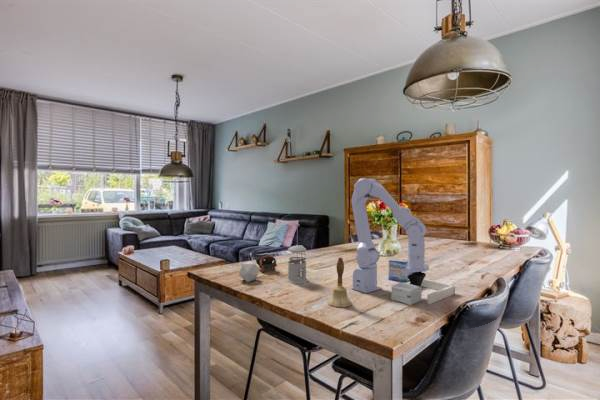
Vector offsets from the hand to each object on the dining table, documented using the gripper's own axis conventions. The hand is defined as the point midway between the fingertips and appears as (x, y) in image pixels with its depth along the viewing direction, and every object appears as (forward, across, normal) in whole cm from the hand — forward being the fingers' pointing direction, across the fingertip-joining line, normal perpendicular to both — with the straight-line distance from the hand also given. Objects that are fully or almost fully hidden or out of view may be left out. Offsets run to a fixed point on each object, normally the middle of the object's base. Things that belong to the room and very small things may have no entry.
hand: (415, 292), depth 120 cm
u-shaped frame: (+2, +7, 0) cm, 7 cm away
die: (+2, -36, +58) cm, 68 cm away
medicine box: (+2, +16, +18) cm, 24 cm away
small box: (+2, -5, 0) cm, 6 cm away
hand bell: (+2, -26, +13) cm, 30 cm away
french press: (+2, -19, +45) cm, 49 cm away
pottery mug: (+2, -21, +68) cm, 71 cm away
